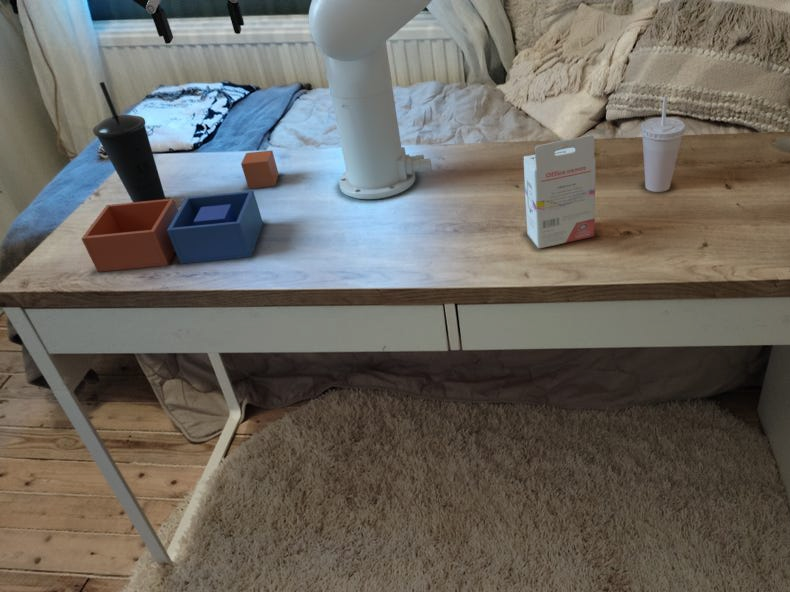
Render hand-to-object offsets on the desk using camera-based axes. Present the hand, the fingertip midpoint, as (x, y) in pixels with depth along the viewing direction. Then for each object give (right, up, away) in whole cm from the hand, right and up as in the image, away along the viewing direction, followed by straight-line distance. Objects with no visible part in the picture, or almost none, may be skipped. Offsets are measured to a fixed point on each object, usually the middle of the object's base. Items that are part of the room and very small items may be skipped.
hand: (204, 36), depth 101 cm
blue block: (+1, -28, +5) cm, 29 cm away
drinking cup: (-15, -21, +17) cm, 31 cm away
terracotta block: (+2, -15, +21) cm, 26 cm away
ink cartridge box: (+51, -29, -1) cm, 58 cm away
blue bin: (+1, -29, +5) cm, 29 cm away
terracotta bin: (-11, -30, +5) cm, 32 cm away
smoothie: (+67, -19, +9) cm, 70 cm away
